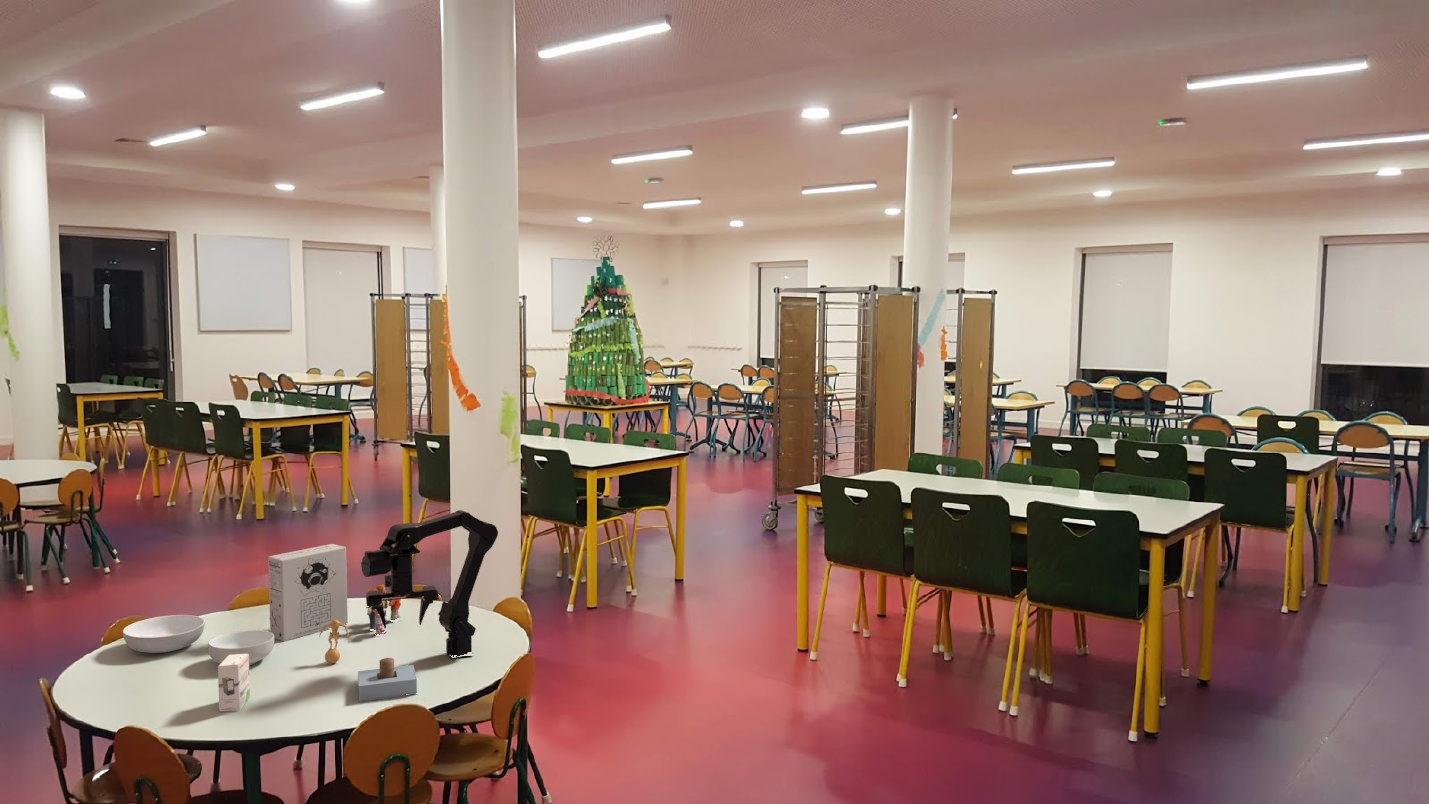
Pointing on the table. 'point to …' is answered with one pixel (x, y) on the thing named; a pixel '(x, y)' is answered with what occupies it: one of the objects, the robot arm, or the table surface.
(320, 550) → the cereal box
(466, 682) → the table surface
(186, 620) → the serving bowl
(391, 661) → the peg
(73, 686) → the table surface
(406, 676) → the socket block
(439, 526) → the robot arm
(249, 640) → the cereal bowl
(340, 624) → the figurine
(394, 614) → the doll family
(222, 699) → the ink box
